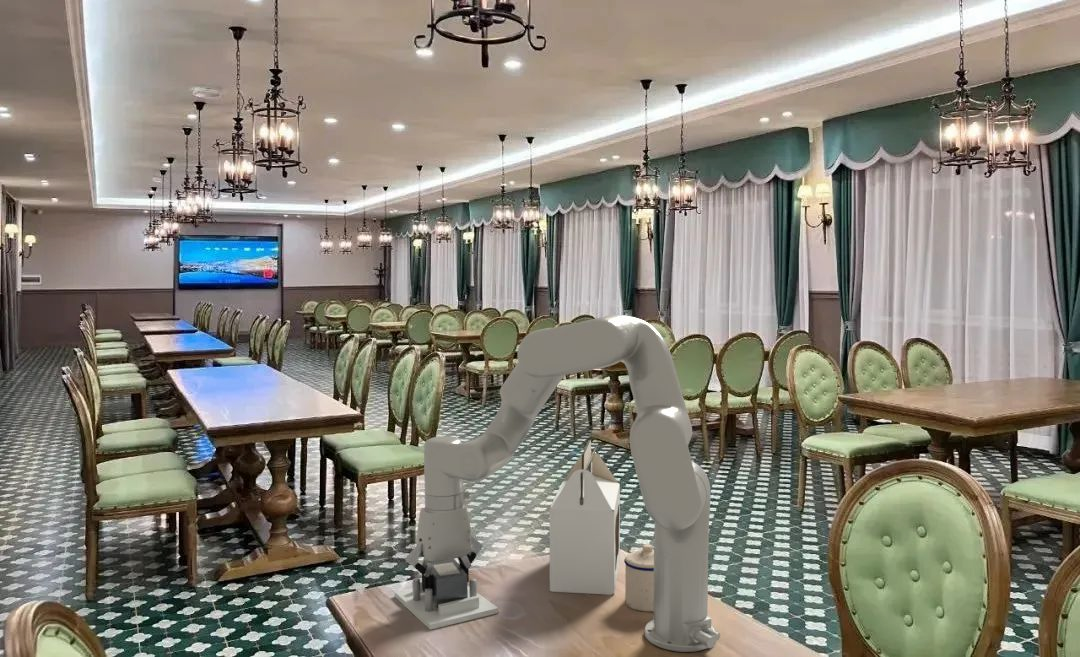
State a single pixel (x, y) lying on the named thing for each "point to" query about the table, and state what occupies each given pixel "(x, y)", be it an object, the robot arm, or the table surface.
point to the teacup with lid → (640, 579)
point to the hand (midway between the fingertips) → (445, 589)
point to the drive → (448, 582)
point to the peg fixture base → (444, 606)
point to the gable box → (585, 529)
